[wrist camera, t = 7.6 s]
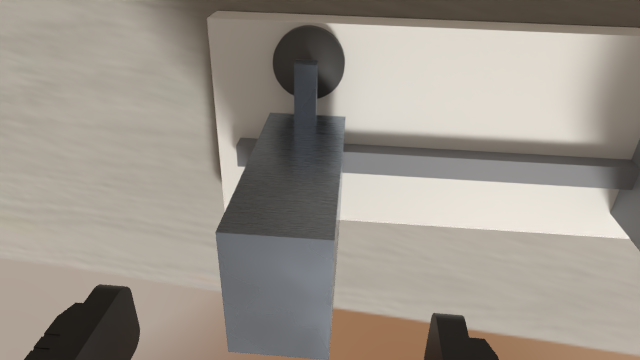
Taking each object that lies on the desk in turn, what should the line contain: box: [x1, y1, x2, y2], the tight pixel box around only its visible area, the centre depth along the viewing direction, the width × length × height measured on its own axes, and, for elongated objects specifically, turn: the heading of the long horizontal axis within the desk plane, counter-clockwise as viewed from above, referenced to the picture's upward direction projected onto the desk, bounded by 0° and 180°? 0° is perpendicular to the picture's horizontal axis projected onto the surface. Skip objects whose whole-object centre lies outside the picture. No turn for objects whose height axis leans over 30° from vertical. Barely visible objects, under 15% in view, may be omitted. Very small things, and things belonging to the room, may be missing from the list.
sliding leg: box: [216, 59, 346, 360], centre depth 16 cm, size 3×7×8 cm, turn 179°
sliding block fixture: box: [207, 11, 640, 251], centre depth 18 cm, size 22×9×8 cm, turn 89°
